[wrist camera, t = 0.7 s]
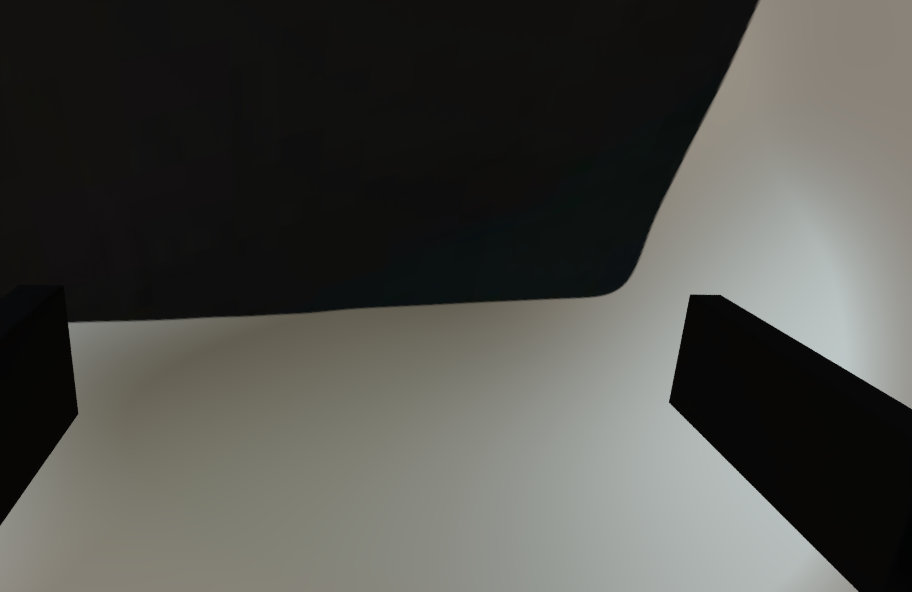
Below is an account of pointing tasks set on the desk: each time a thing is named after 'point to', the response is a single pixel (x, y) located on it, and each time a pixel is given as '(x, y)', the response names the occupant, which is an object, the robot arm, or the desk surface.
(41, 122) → the desk surface
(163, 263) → the desk surface
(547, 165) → the desk surface
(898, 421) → the robot arm
